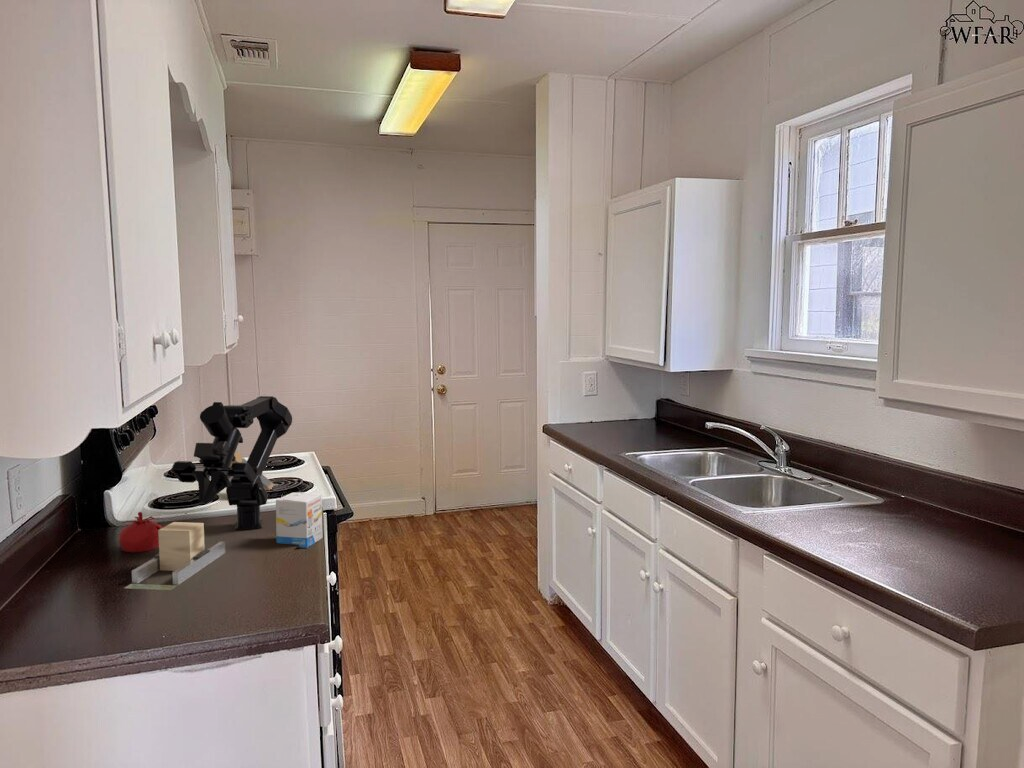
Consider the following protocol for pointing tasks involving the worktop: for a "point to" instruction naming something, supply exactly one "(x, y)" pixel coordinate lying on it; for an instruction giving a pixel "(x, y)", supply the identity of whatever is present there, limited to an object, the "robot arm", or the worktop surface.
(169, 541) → the block
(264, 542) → the worktop surface
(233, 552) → the worktop surface
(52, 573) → the worktop surface
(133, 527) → the pomegranate
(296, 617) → the worktop surface
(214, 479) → the robot arm
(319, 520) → the ink box
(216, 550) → the chute
